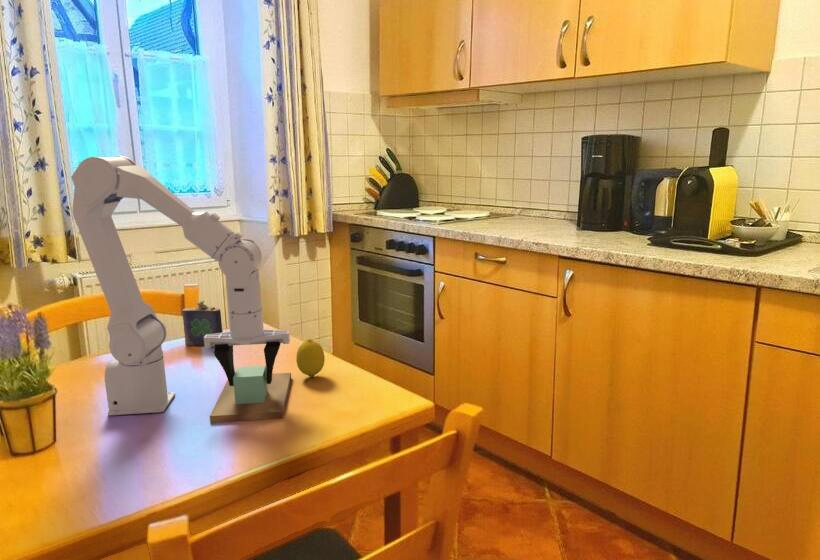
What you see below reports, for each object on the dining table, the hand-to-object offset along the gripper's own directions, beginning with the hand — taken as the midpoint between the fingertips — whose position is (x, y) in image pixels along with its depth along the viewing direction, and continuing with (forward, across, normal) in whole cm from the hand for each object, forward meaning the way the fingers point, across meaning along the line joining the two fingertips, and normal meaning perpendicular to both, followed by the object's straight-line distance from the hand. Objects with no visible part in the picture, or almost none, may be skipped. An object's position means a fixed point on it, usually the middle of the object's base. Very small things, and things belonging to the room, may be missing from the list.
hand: (251, 382), depth 106 cm
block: (+3, 0, 0) cm, 3 cm away
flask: (+4, -16, +35) cm, 39 cm away
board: (+4, 0, +2) cm, 4 cm away
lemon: (+4, +10, +11) cm, 15 cm away
